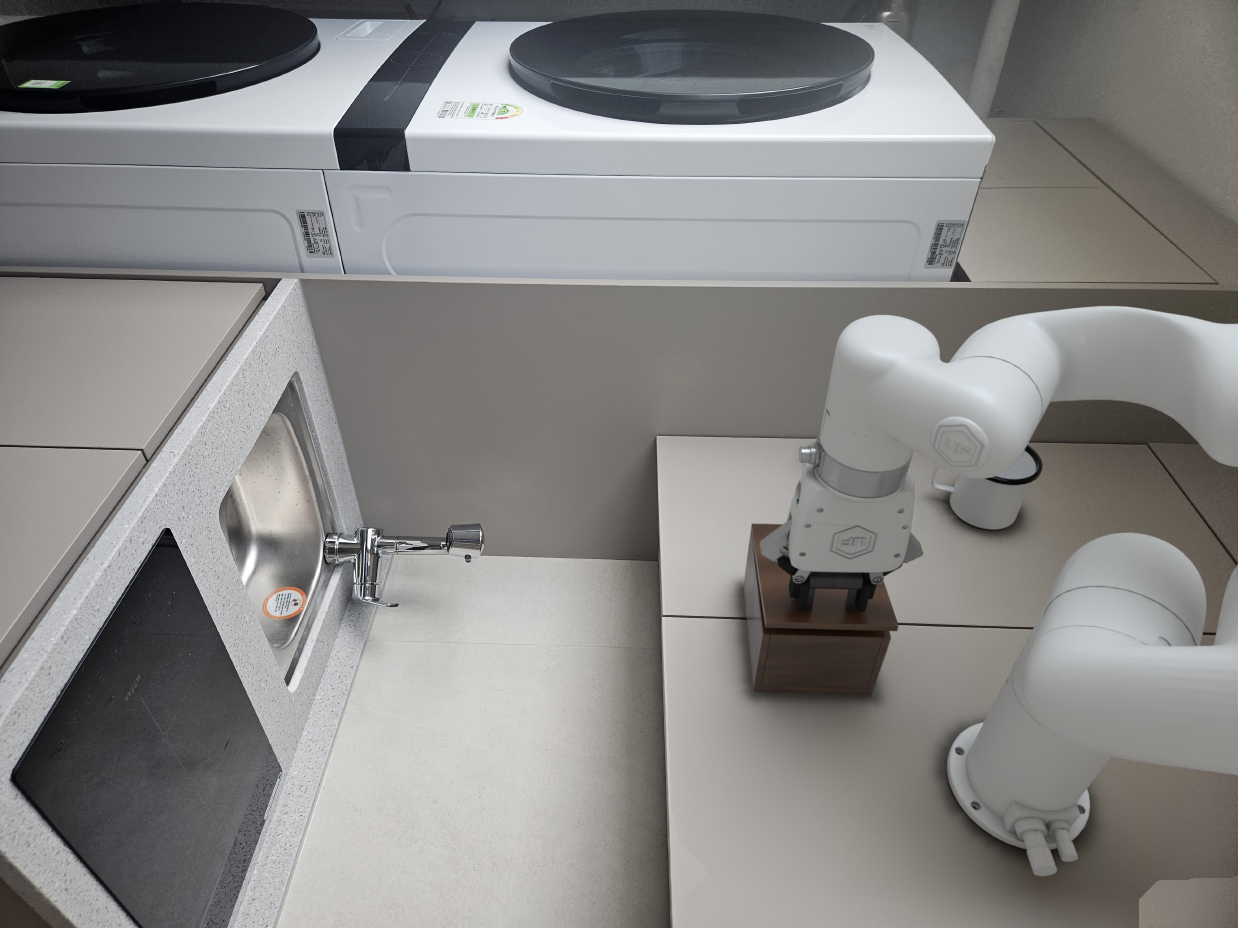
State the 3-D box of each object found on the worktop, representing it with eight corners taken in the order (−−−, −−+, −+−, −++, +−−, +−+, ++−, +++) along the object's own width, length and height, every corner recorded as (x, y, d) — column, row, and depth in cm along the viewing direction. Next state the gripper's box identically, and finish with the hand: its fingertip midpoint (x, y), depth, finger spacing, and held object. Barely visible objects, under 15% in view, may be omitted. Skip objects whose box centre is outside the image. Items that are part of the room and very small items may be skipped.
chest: (872, 694, 85) (891, 637, 79) (753, 690, 86) (762, 634, 80) (848, 588, 96) (863, 531, 90) (743, 585, 97) (750, 528, 91)
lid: (897, 631, 77) (908, 587, 74) (765, 627, 78) (771, 584, 75) (864, 531, 90) (872, 490, 87) (750, 528, 90) (755, 488, 87)
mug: (1019, 492, 109) (1041, 440, 103) (1021, 540, 102) (1045, 488, 96) (926, 474, 112) (942, 423, 106) (923, 520, 105) (940, 468, 99)
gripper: (763, 489, 65) (744, 629, 76) (979, 491, 64) (926, 632, 76) (754, 431, 70) (738, 570, 82) (952, 432, 70) (907, 572, 82)
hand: (828, 598), depth 79 cm, fingers closed on lid, 5 cm apart
